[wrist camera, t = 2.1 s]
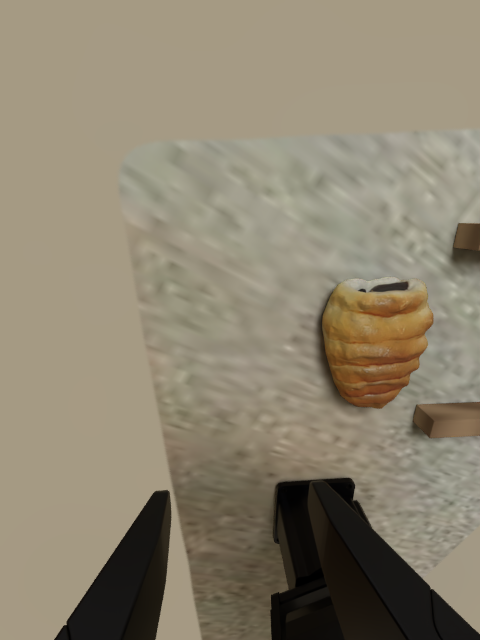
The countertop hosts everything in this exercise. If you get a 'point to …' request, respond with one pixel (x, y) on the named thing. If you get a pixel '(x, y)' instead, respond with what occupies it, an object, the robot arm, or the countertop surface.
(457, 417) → the frame
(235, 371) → the countertop surface
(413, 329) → the pastry
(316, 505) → the robot arm
